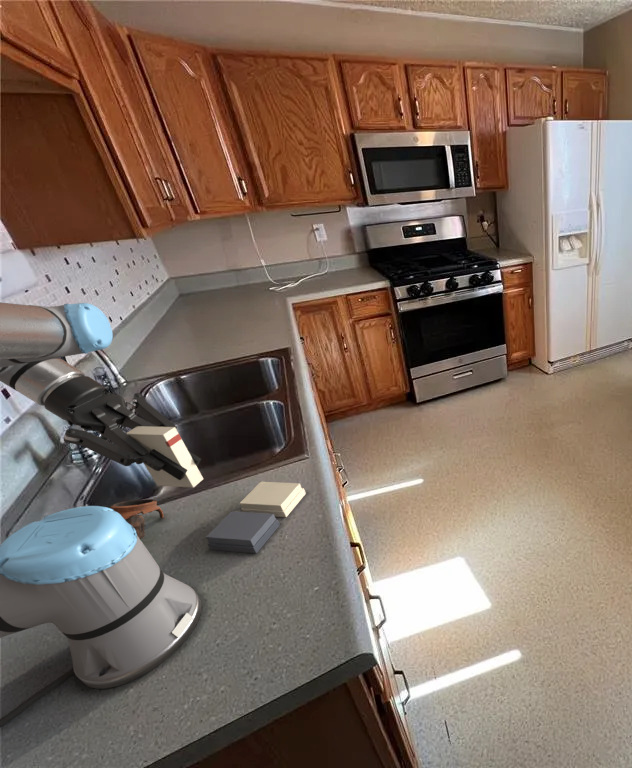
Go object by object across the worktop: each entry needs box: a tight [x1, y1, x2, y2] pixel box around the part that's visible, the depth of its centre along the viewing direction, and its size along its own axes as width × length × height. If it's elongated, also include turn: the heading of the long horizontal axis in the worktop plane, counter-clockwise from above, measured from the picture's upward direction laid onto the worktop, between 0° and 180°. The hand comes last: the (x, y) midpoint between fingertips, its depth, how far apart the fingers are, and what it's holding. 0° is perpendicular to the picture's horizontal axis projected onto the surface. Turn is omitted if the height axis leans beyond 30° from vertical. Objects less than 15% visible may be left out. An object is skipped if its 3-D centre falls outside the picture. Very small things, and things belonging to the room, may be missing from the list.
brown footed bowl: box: [109, 498, 165, 540], centre depth 84 cm, size 12×10×8 cm
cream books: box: [239, 481, 307, 518], centre depth 89 cm, size 7×10×3 cm
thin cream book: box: [126, 426, 204, 489], centre depth 76 cm, size 2×8×12 cm, turn 82°
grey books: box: [205, 510, 281, 554], centre depth 81 cm, size 7×10×3 cm
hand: (190, 469), depth 76 cm, fingers closed on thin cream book, 2 cm apart
